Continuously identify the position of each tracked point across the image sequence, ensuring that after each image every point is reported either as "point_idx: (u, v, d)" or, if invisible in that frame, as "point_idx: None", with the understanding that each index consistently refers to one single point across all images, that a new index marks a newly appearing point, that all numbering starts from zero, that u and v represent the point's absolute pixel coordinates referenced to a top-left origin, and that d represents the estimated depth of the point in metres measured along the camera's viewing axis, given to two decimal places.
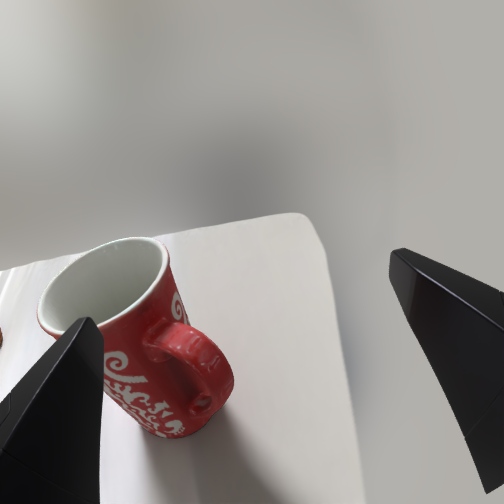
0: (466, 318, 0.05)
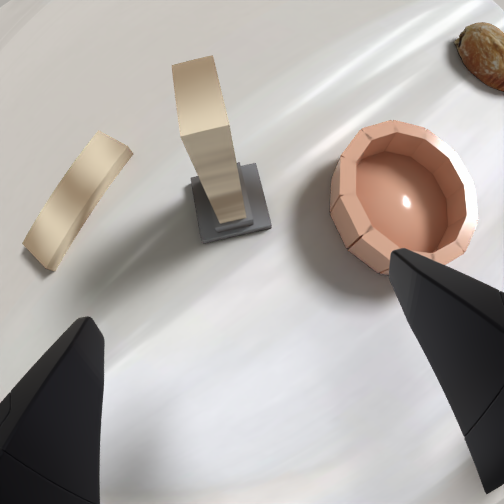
0: (466, 318, 0.05)
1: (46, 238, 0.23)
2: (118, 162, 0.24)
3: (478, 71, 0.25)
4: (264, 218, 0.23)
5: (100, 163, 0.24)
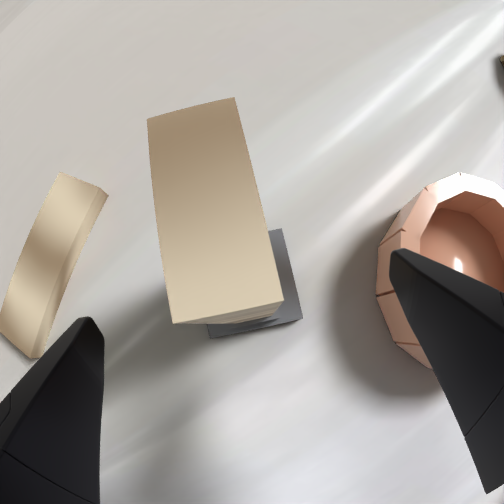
0: (466, 318, 0.05)
1: (22, 320, 0.17)
2: (91, 210, 0.18)
3: None
4: (293, 309, 0.17)
5: (68, 214, 0.18)
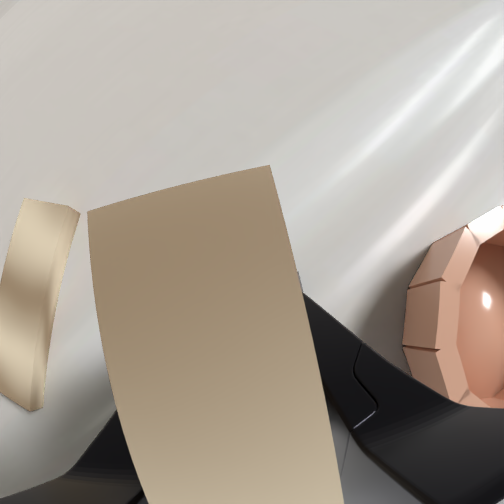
0: None
1: (12, 370, 0.14)
2: (64, 233, 0.15)
3: None
4: None
5: (40, 243, 0.15)
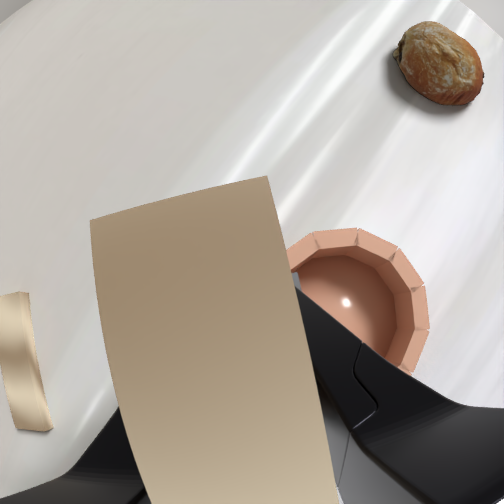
0: None
1: (26, 409, 0.19)
2: (23, 309, 0.22)
3: (427, 91, 0.24)
4: None
5: (12, 321, 0.21)
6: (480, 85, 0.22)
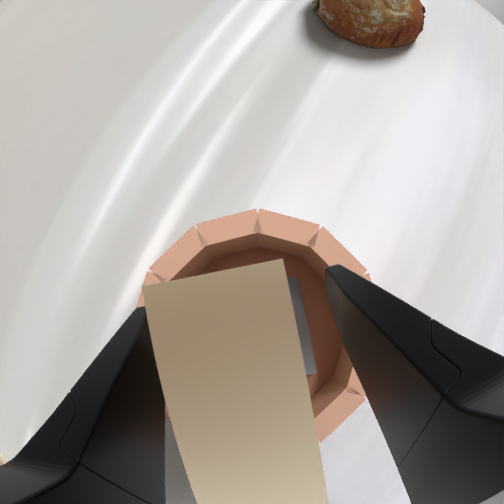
0: (385, 349, 0.05)
1: None
2: None
3: (355, 34, 0.20)
4: (307, 364, 0.15)
5: None
6: (420, 18, 0.18)
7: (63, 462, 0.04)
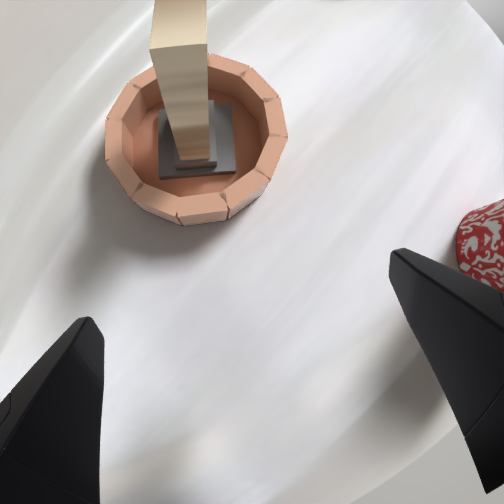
0: (466, 318, 0.05)
1: None
2: None
3: None
4: (229, 162, 0.20)
5: None
6: None
7: None
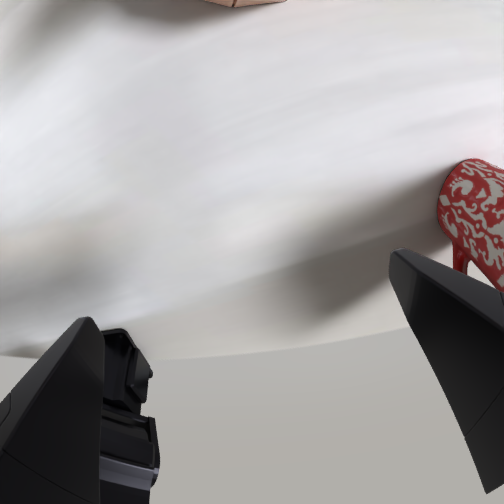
0: (466, 318, 0.05)
1: None
2: None
3: None
4: None
5: None
6: None
7: None
